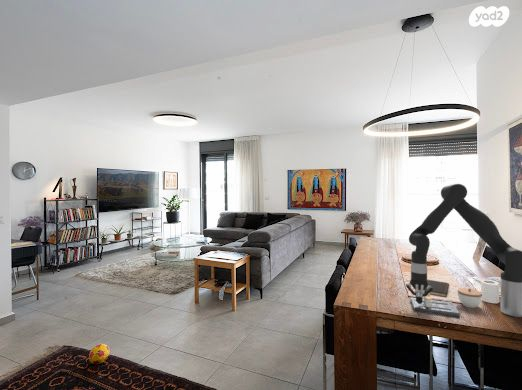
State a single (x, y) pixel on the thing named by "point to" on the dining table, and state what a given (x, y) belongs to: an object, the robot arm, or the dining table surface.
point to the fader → (427, 301)
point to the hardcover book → (438, 287)
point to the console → (436, 307)
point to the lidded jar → (469, 297)
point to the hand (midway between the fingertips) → (419, 303)
